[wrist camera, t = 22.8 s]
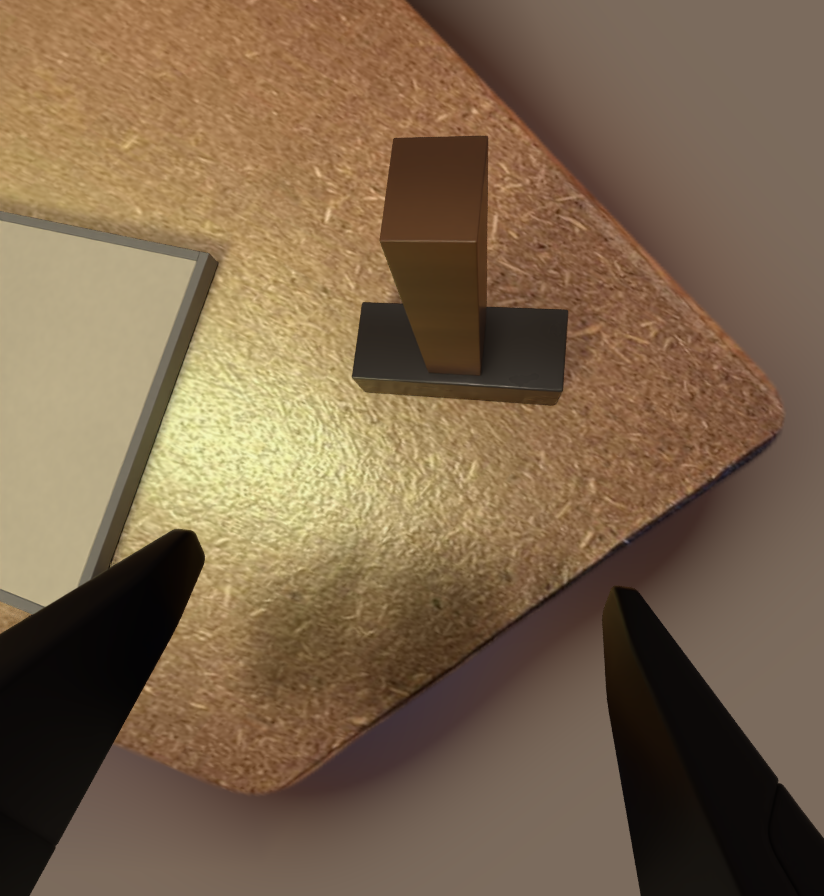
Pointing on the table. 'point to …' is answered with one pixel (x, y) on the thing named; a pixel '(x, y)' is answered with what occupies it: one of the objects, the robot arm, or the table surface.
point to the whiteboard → (82, 391)
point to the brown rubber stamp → (450, 290)
